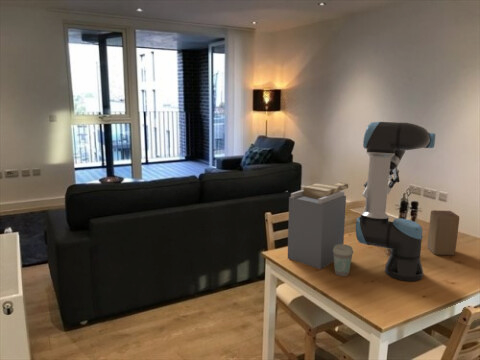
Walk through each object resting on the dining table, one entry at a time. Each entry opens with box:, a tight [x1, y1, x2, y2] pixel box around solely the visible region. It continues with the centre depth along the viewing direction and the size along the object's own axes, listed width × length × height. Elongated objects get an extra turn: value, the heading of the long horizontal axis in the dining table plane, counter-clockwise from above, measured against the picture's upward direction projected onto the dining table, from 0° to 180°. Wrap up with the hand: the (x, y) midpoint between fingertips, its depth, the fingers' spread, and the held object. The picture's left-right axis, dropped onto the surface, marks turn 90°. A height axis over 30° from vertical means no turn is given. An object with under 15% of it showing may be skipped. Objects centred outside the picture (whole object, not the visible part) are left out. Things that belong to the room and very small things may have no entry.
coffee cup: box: [333, 243, 354, 277], centre depth 164 cm, size 8×8×12 cm
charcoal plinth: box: [287, 189, 347, 270], centre depth 179 cm, size 20×18×32 cm
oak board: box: [302, 181, 349, 199], centre depth 183 cm, size 28×12×4 cm, turn 136°
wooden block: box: [426, 209, 460, 256], centre depth 186 cm, size 10×10×20 cm
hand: (375, 194), depth 190 cm, fingers open, 13 cm apart
